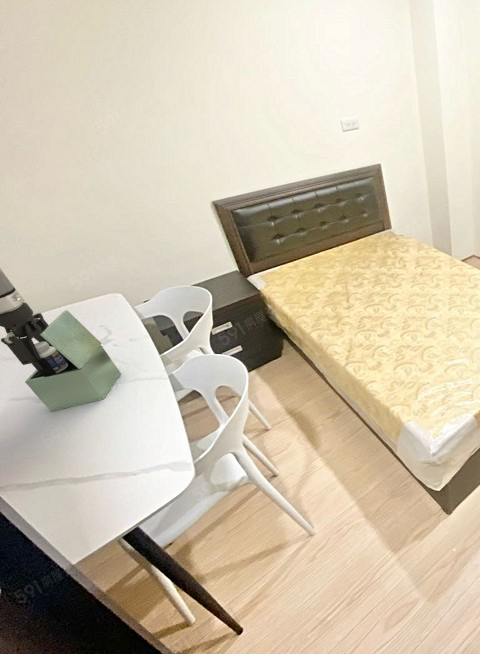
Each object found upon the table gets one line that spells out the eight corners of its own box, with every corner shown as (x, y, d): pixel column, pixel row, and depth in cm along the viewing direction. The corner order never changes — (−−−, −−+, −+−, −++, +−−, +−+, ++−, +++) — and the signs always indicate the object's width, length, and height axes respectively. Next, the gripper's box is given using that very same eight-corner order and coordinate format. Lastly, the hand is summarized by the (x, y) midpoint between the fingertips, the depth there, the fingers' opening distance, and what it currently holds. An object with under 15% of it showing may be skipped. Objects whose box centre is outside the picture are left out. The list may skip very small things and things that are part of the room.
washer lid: (39, 334, 112) (42, 333, 113) (64, 310, 123) (67, 309, 123) (78, 369, 120) (81, 368, 120) (99, 344, 131) (101, 343, 131)
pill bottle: (67, 370, 124) (48, 346, 119) (43, 378, 121) (23, 353, 116) (69, 361, 127) (51, 337, 122) (46, 368, 124) (26, 344, 120)
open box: (50, 411, 123) (24, 381, 117) (72, 384, 134) (49, 355, 127) (103, 399, 127) (81, 369, 121) (121, 373, 137) (101, 344, 131)
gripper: (1, 322, 106) (54, 385, 117) (43, 289, 121) (86, 348, 132) (-36, 329, 104) (22, 393, 115) (12, 294, 119) (58, 354, 130)
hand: (56, 368), depth 124 cm, fingers closed on pill bottle, 5 cm apart
